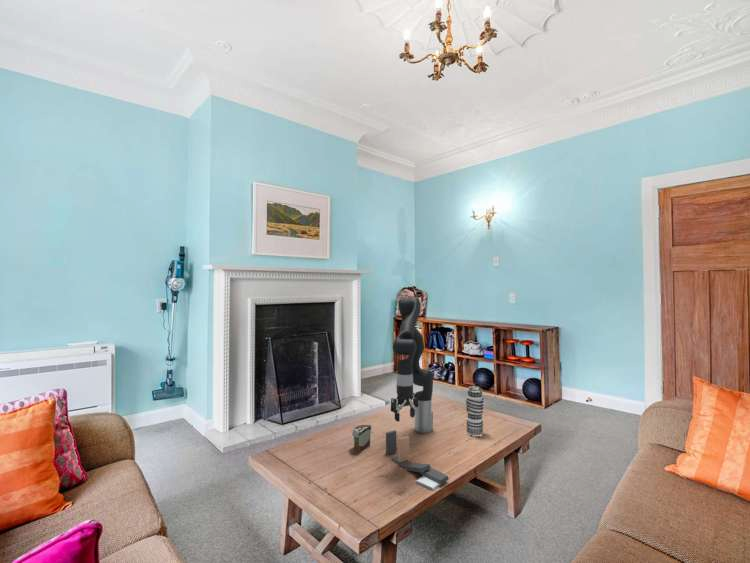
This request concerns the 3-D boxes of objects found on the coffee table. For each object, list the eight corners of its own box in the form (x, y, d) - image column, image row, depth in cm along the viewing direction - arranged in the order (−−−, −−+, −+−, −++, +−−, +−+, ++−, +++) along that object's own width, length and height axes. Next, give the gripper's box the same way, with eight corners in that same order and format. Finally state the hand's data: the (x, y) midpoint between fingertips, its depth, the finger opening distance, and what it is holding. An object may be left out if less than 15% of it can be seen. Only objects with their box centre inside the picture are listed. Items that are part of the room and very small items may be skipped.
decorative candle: (485, 437, 194) (485, 389, 194) (468, 437, 194) (468, 389, 194) (481, 430, 203) (481, 384, 203) (464, 430, 203) (464, 384, 203)
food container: (361, 442, 187) (361, 422, 187) (371, 445, 184) (371, 425, 184) (347, 451, 176) (347, 430, 177) (357, 454, 173) (357, 433, 173)
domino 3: (400, 455, 172) (413, 463, 163) (400, 458, 172) (413, 467, 163) (391, 457, 169) (404, 466, 161) (391, 461, 169) (404, 470, 161)
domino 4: (415, 462, 162) (429, 464, 154) (415, 466, 162) (430, 468, 154) (406, 466, 159) (420, 468, 152) (407, 470, 159) (421, 472, 151)
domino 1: (394, 451, 177) (394, 430, 178) (396, 452, 176) (396, 431, 176) (385, 453, 175) (386, 432, 175) (387, 455, 173) (388, 433, 173)
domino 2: (406, 458, 169) (407, 436, 169) (408, 459, 167) (409, 437, 168) (397, 460, 166) (398, 438, 166) (400, 462, 165) (400, 439, 165)
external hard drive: (415, 484, 149) (432, 472, 158) (432, 492, 144) (449, 479, 153) (415, 480, 149) (432, 468, 158) (432, 487, 144) (449, 475, 153)
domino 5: (429, 466, 157) (448, 475, 150) (429, 470, 157) (448, 479, 150) (421, 470, 154) (440, 480, 146) (421, 474, 154) (440, 484, 146)
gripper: (411, 379, 174) (411, 413, 174) (387, 383, 166) (387, 419, 166) (422, 382, 168) (422, 418, 168) (397, 387, 160) (397, 425, 160)
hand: (404, 419), depth 167 cm, fingers open, 8 cm apart
